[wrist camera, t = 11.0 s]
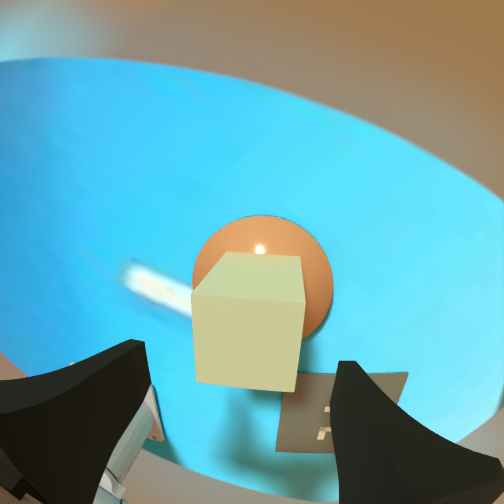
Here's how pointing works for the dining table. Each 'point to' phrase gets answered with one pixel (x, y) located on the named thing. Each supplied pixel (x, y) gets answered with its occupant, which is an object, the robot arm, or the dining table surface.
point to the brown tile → (320, 410)
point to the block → (249, 322)
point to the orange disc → (275, 243)
